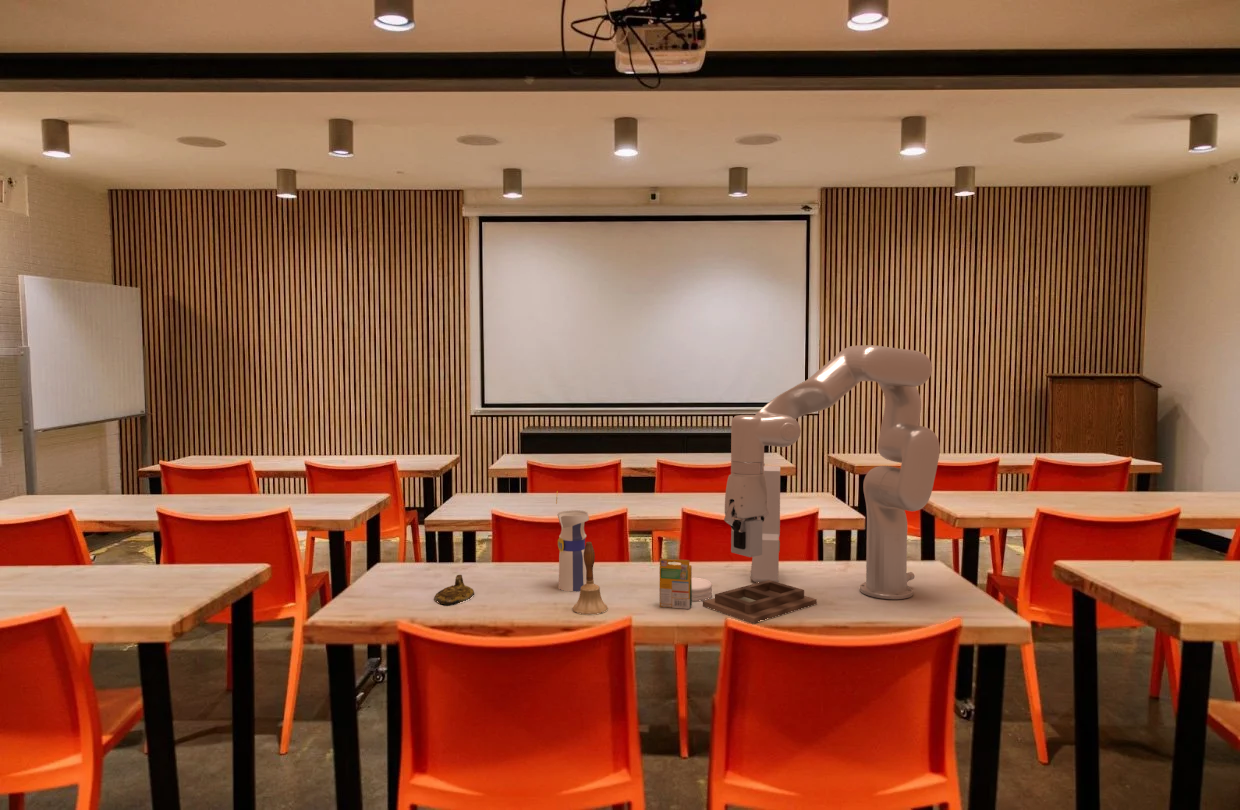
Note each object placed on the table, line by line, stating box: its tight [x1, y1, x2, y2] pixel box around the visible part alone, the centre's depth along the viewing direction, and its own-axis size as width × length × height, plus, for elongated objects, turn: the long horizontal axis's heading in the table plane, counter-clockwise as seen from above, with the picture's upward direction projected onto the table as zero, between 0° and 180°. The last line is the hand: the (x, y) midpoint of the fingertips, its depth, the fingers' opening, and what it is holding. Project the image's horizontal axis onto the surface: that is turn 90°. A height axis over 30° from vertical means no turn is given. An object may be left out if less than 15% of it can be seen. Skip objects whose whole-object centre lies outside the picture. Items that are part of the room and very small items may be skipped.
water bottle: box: [555, 490, 590, 592], centre depth 201 cm, size 8×9×25 cm
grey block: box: [730, 518, 763, 558], centre depth 182 cm, size 4×6×8 cm, turn 38°
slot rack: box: [702, 580, 818, 624], centre depth 186 cm, size 22×16×3 cm
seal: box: [433, 574, 475, 606], centre depth 194 cm, size 9×5×15 cm
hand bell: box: [572, 541, 609, 615], centre depth 183 cm, size 8×8×16 cm
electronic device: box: [750, 465, 781, 583], centre depth 209 cm, size 12×8×30 cm, turn 168°
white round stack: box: [692, 576, 713, 602], centre depth 194 cm, size 10×10×4 cm
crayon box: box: [659, 558, 693, 610], centre depth 185 cm, size 7×3×12 cm, turn 75°
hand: (746, 546), depth 182 cm, fingers closed on grey block, 4 cm apart
